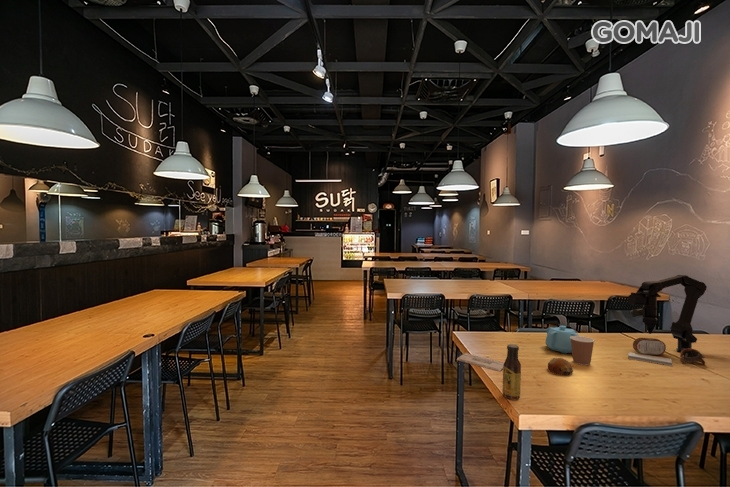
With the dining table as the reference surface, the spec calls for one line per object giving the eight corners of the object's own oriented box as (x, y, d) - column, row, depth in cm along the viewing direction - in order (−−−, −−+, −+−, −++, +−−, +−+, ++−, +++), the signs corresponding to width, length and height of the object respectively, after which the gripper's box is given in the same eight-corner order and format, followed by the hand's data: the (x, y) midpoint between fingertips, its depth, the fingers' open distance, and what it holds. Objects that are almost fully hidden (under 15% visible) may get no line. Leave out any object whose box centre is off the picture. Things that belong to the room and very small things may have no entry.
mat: (629, 352, 187) (629, 350, 187) (671, 359, 176) (671, 356, 176) (628, 358, 178) (628, 355, 178) (672, 366, 167) (672, 363, 167)
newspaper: (510, 366, 167) (510, 361, 167) (500, 375, 158) (500, 370, 158) (466, 354, 182) (466, 350, 182) (455, 363, 174) (455, 358, 174)
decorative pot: (545, 352, 187) (545, 327, 187) (545, 344, 201) (546, 321, 201) (580, 357, 179) (581, 331, 179) (578, 349, 193) (579, 324, 193)
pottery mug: (712, 368, 166) (708, 354, 165) (692, 375, 168) (687, 361, 166) (691, 354, 178) (687, 341, 176) (672, 360, 180) (667, 348, 178)
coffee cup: (592, 361, 173) (592, 337, 173) (596, 368, 164) (596, 342, 164) (568, 358, 177) (568, 334, 177) (570, 364, 168) (571, 339, 168)
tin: (662, 354, 184) (662, 338, 185) (667, 356, 181) (667, 340, 182) (632, 352, 186) (632, 336, 186) (636, 354, 183) (636, 338, 183)
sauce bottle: (499, 393, 135) (500, 342, 135) (514, 393, 135) (515, 342, 135) (507, 401, 128) (508, 348, 128) (524, 401, 129) (524, 347, 129)
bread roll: (570, 378, 160) (569, 360, 163) (576, 376, 151) (574, 357, 154) (547, 375, 163) (545, 358, 166) (550, 373, 154) (549, 355, 158)
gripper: (631, 301, 202) (631, 328, 202) (630, 305, 187) (630, 334, 187) (656, 303, 195) (656, 331, 195) (657, 308, 180) (657, 338, 180)
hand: (649, 333), depth 189 cm, fingers closed
